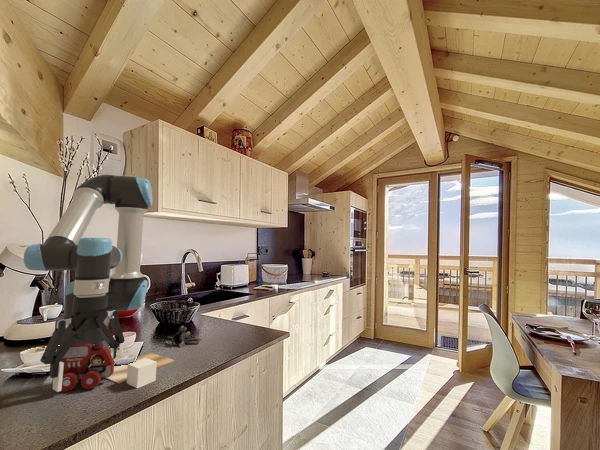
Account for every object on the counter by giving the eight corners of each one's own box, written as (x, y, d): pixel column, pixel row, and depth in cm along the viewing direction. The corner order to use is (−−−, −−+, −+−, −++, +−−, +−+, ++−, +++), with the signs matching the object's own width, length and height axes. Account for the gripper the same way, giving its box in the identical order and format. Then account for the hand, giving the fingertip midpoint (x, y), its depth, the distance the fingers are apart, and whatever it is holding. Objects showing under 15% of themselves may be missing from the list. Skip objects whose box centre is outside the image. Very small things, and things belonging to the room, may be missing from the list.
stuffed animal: (196, 345, 99) (169, 325, 100) (179, 367, 99) (153, 348, 99) (207, 334, 111) (183, 316, 112) (192, 354, 111) (169, 337, 111)
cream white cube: (126, 383, 73) (127, 364, 73) (144, 376, 77) (146, 357, 78) (137, 388, 70) (138, 368, 71) (155, 380, 75) (156, 361, 75)
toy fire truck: (106, 388, 70) (107, 346, 71) (48, 394, 67) (51, 350, 68) (117, 375, 77) (119, 337, 77) (66, 380, 74) (68, 340, 75)
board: (93, 372, 79) (93, 371, 79) (149, 353, 93) (149, 352, 93) (118, 384, 72) (118, 383, 72) (175, 361, 87) (175, 360, 87)
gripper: (41, 303, 62) (31, 406, 60) (141, 290, 82) (136, 367, 80) (27, 300, 65) (17, 397, 64) (127, 288, 86) (122, 361, 84)
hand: (84, 380), depth 72 cm, fingers closed on toy fire truck, 11 cm apart
